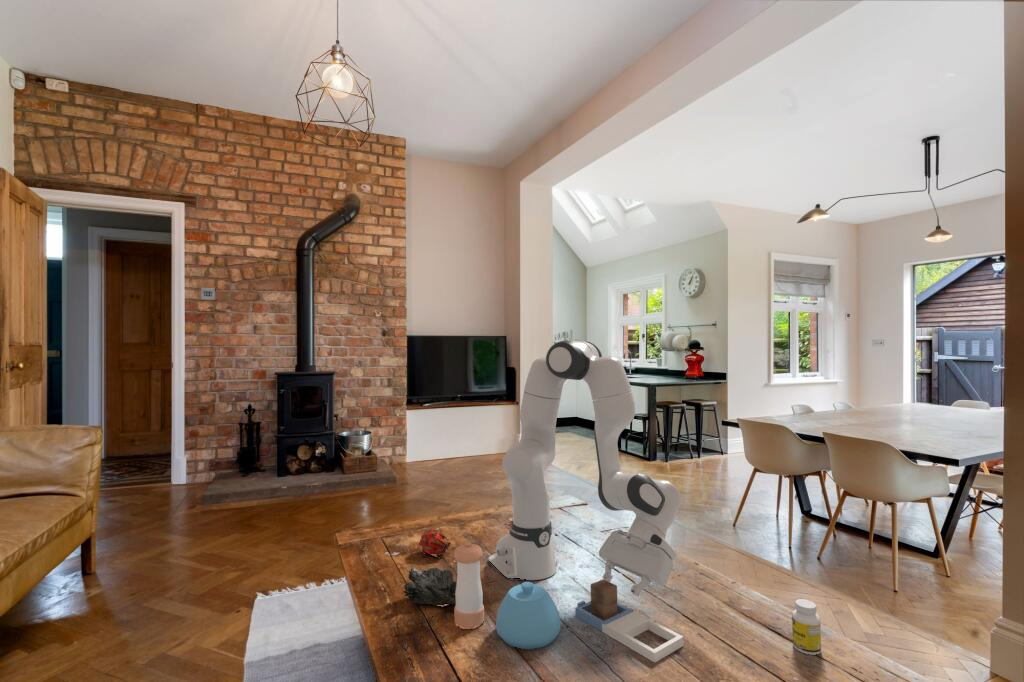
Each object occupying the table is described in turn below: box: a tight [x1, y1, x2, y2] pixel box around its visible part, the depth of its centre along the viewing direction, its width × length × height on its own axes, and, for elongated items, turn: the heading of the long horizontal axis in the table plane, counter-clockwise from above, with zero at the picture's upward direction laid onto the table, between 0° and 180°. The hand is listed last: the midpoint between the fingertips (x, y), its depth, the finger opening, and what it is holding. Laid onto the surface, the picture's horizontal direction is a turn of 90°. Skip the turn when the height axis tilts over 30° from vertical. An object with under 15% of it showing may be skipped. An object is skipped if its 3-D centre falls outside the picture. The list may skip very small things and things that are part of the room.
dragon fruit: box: [418, 528, 451, 555], centre depth 167 cm, size 8×8×12 cm
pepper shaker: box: [453, 541, 485, 627], centre depth 126 cm, size 7×7×19 cm
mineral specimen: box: [403, 566, 457, 606], centre depth 137 cm, size 15×13×10 cm
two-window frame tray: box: [574, 600, 685, 663], centre depth 121 cm, size 25×10×2 cm, turn 36°
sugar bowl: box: [495, 581, 562, 650], centre depth 120 cm, size 15×15×12 cm
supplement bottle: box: [791, 598, 822, 656], centre depth 113 cm, size 5×5×10 cm
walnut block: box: [590, 578, 618, 621], centre depth 127 cm, size 4×4×8 cm
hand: (619, 586), depth 130 cm, fingers open, 8 cm apart
